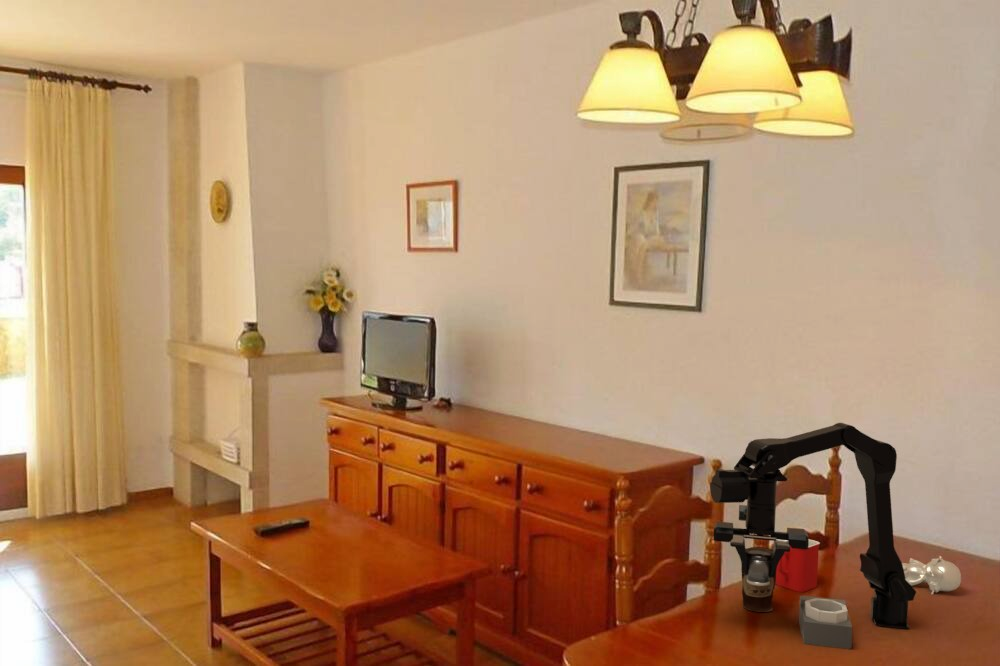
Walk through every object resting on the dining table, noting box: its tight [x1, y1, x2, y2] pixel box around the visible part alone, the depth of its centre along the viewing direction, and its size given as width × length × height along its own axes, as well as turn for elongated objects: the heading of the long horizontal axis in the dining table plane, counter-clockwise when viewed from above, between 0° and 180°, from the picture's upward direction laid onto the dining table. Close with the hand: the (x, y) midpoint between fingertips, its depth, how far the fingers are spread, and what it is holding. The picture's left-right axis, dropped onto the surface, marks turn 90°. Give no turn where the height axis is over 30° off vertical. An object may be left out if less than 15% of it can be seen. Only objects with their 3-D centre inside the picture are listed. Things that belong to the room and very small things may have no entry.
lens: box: [747, 550, 771, 586], centre depth 184 cm, size 5×5×6 cm
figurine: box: [902, 555, 962, 596], centre depth 213 cm, size 11×7×15 cm
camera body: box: [798, 595, 853, 650], centre depth 183 cm, size 9×12×6 cm
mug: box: [775, 539, 821, 593], centre depth 211 cm, size 12×8×11 cm
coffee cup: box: [740, 546, 777, 613], centre depth 197 cm, size 9×8×13 cm
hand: (758, 575), depth 185 cm, fingers closed on lens, 5 cm apart
